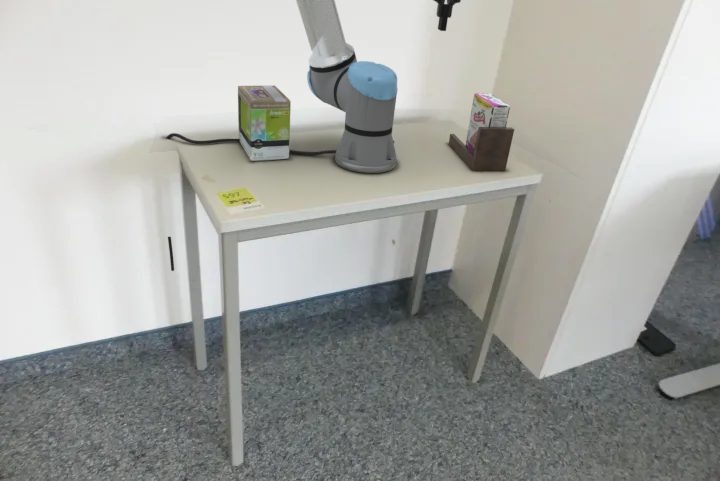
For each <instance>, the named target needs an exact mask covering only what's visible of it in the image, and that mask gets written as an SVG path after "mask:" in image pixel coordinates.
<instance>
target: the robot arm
mask: <svg viewBox="0 0 720 481" xmlns="http://www.w3.org/2000/svg"><path fill="white" fill-rule="evenodd" d="M461 1H462V0H433V2H436V3H437V8H436V17H437V18H438V25H437V30H439V31H440V32H447V27H448V26H447V25H448V20H449V19H451V18H452V14H453V8H454V5H456V4H460V3H461ZM445 2H446V3H445ZM295 3H296V5H297V8H298V11H299V14H300V18H301V22H302V25H303V28H304V31H305V35H306V37H307V41H308V44H309V47H310V51H311V54H310V56H309V57H308V68H309V69H308V71H307V75H306V78H307V85H308V87H309V90H310V91H311V93H312V94H313V95H314V97H315V98H317V99H318V100H320V101H321V102H323V103H324V104H327V105H329V106H331V107H334V108H336V109H338V110H340V111H342V112H344V113H345V117H344V129H343V133H342V136H341V138H340V141H339V143H338V145H337V147H336V149H329V150H328V149H327V150H319V151H302V150H293V149H289V154H292V155H300V156H320V155H330V154H332V155H333V154H335V156H334V157H335V158H334V160H335V163H336V164H337V165H338V166H339V167H340V168H343V169H345V170H347V171H351V172H354V173H361V174H382V173H386V172H389V171H391V170H393V169H394V168H395V167H396V166H397V160H398V159H397V153H396V148H395V140H394V139H393V138H394V137H393V128H394V119H395V110H396V102H397V94H398V76H397V73H396V72H395V71H394V70H393V69H392V68H390V67H389V66H387V65H384V64H382V63H376V62H374V61H368V60H360V61H358V59H357V55H356V52H355V48H354V46H353V45H351V44H349V43H347V42H346V39H345V34H344V31H343V26H342V23H341V19H340V16H339V11H338V8H337V5H336V0H295ZM174 137H175V138H178V139H181V140H182V141H185V142H187V143H189V144H193V145H209V144H217V143H228V142H229V143H240V139H239V138H217V139H209V140H196V139H195V140H194V139H190V138H188V137H186V136H184V135H183V134H179V133H174V132H173V133H170V134H168V135H167V136H166V137H165V139H167V140H169V139H171V138H174ZM167 241H168V251H169V260H170V270H171V272H174V271H175V262H174V252H173V244H172V242H173V241H172V237H171V236H167Z"/></svg>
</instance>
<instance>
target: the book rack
mask: <svg viewBox="0 0 720 481" xmlns="http://www.w3.org/2000/svg"><path fill="white" fill-rule="evenodd" d="M514 133H515V128H513V127H512V126H511V127H509V126H506V127H479V128H478V133H477V139H476V144H475V149H474V154H473V153H472V152H471V151H470V150H469V149H468V148H467V147H466V146H465V145H466V143H464V142H463V141H462V140H461V139H460V138H459V137H458V136H457V135H456V134H455V133H449V139H448V145H449V146H450V148H452V149H453V151H454V152H455V153H456V154H457V155H458V157H459V158H461V160H462V161H464V163H465V164H466V165H467V166H468V167H469V168H470V170H472V172H506V169H507V165H508V160H509V156H510V152H511V147H512V142H513V137H514Z"/></svg>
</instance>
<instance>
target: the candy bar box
mask: <svg viewBox="0 0 720 481" xmlns="http://www.w3.org/2000/svg"><path fill="white" fill-rule="evenodd" d="M510 109H511V105H510V104H507V103H506V102H505V101H503V100H501V99H500V98H499V97H497V96H495V95H493V94H492V93H489V92H487V93H485V92H481V93H480V92H477V93H476V92H475V93H473V100H472V105H471V111H470V116H469V124H468V127H467V128H468V129H467V134H466V139H465V140H466V141H465V146H466V147H467V148H468V149H469V150H470V151H471V152H472V153H473V154H474V149H475V144H476V139H477V133H478V128H479V127H507V124H508V118H509V114H510Z"/></svg>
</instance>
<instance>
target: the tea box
mask: <svg viewBox="0 0 720 481" xmlns="http://www.w3.org/2000/svg"><path fill="white" fill-rule="evenodd" d="M237 105H238V106H237V114H238V116H237V117H238V118H237V119H238V139H240V142H239V143H240V145H241V146H242V148H243V149H244V151H245V153H246V155H247V156H248V158H249V160H250V161H255V162H257V161H272V160H274V161H275V160H286V159H289V158H290V153H289V150H290V141H291V140H290V137H291V136H290V135H291V100H290V98H289V97H287V95H285V93H283V91H281V90H280V89H279V88H278V87H277V85H237Z"/></svg>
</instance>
